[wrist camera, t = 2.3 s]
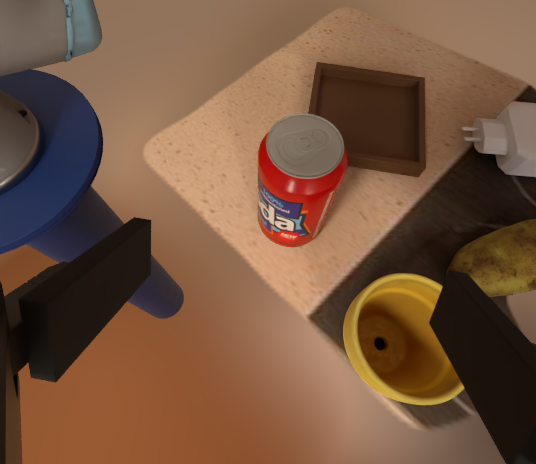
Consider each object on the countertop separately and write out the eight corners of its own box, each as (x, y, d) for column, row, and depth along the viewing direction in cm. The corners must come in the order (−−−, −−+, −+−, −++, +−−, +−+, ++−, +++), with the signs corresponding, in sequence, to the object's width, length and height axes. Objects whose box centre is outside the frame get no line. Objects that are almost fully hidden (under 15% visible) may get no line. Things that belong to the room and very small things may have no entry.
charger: (448, 118, 49) (553, 127, 49) (457, 173, 45) (570, 183, 45) (467, 93, 44) (583, 103, 44) (478, 151, 41) (604, 162, 41)
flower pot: (418, 297, 39) (466, 274, 30) (431, 399, 35) (493, 408, 26) (326, 294, 38) (347, 269, 29) (329, 395, 34) (355, 403, 25)
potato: (428, 235, 42) (464, 205, 34) (531, 236, 42) (590, 207, 35) (441, 303, 38) (485, 286, 31) (553, 304, 39) (622, 287, 31)
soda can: (334, 230, 41) (372, 158, 28) (279, 261, 40) (290, 200, 26) (299, 182, 44) (318, 93, 30) (246, 209, 42) (240, 128, 28)
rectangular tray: (301, 158, 45) (303, 149, 44) (314, 73, 51) (317, 61, 50) (418, 177, 45) (425, 168, 43) (418, 88, 51) (424, 77, 49)
